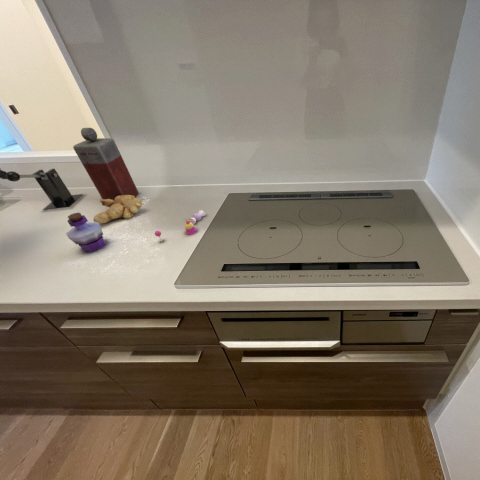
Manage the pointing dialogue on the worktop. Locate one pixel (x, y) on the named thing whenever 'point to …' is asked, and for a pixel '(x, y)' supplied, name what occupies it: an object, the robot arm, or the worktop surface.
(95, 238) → the potion bottle
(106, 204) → the ginger root
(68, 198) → the lever switch
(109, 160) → the red square bottle
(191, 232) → the pink and purple pieces
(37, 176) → the tap lever
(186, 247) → the worktop surface
